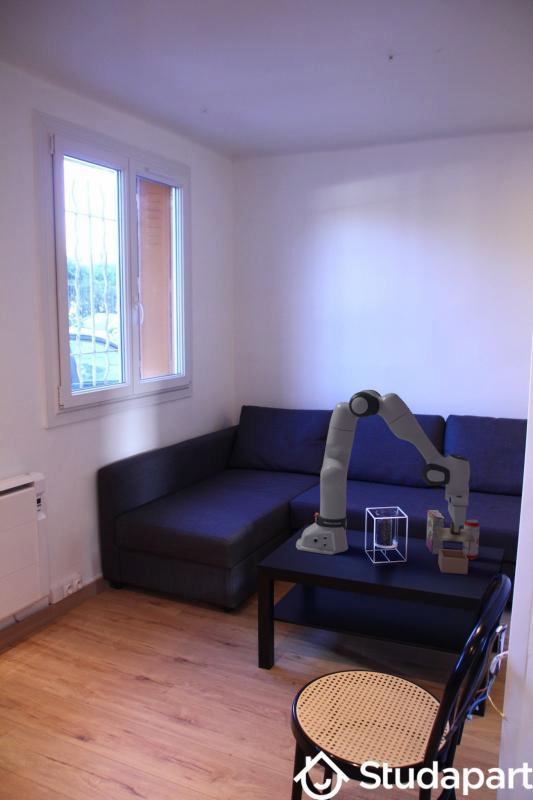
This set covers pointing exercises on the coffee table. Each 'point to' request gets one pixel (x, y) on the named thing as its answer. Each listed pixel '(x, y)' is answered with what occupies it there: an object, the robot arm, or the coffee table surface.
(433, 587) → the coffee table surface
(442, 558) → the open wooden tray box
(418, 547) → the coffee table surface
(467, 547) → the beer can
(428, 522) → the candy bar box
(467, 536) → the lid
